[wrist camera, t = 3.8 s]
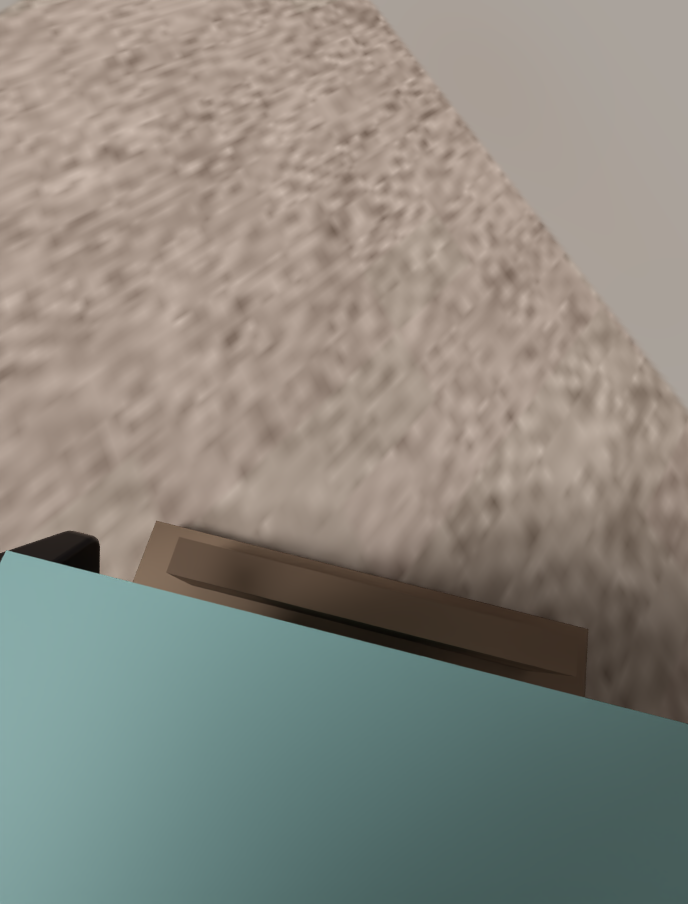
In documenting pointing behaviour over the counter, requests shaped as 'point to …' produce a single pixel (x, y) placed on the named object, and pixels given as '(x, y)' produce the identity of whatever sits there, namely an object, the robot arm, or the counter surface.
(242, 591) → the walnut rack
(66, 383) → the counter surface
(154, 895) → the turquoise upright pillar
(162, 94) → the counter surface
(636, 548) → the counter surface
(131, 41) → the counter surface
